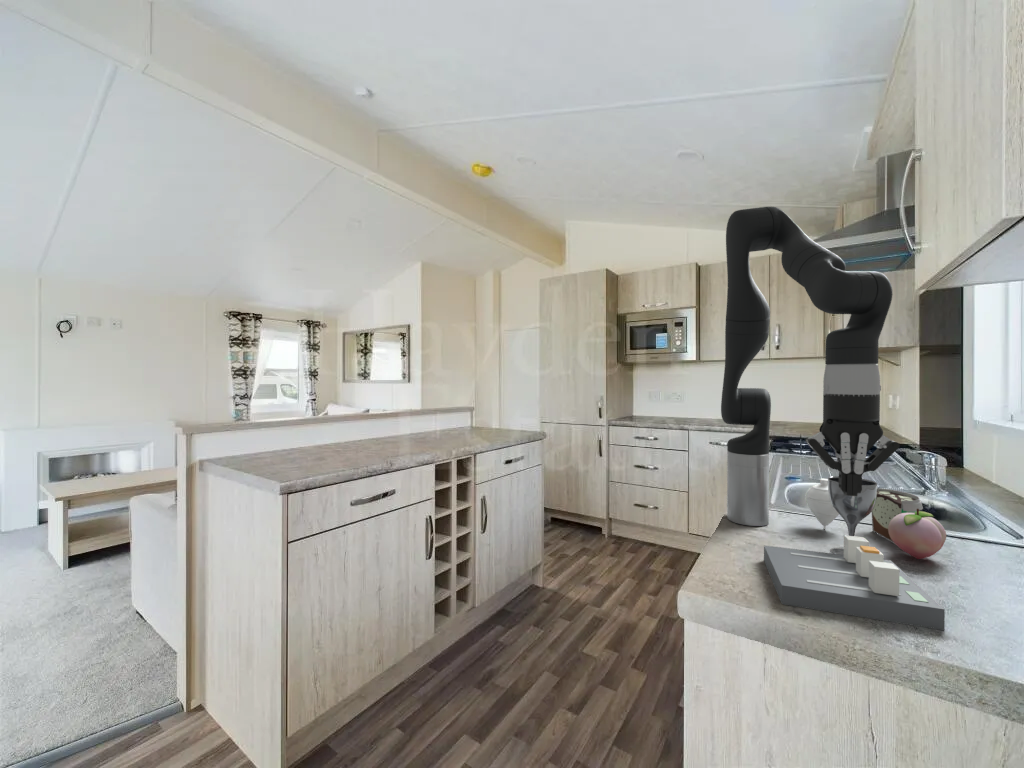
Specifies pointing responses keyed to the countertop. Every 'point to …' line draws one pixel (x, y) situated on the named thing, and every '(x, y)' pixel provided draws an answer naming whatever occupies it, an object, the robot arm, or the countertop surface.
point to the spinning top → (821, 503)
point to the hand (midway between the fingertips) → (849, 494)
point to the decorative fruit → (917, 533)
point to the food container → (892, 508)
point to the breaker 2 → (884, 578)
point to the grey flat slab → (846, 589)
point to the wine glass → (852, 505)
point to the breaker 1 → (853, 547)
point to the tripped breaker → (866, 559)
